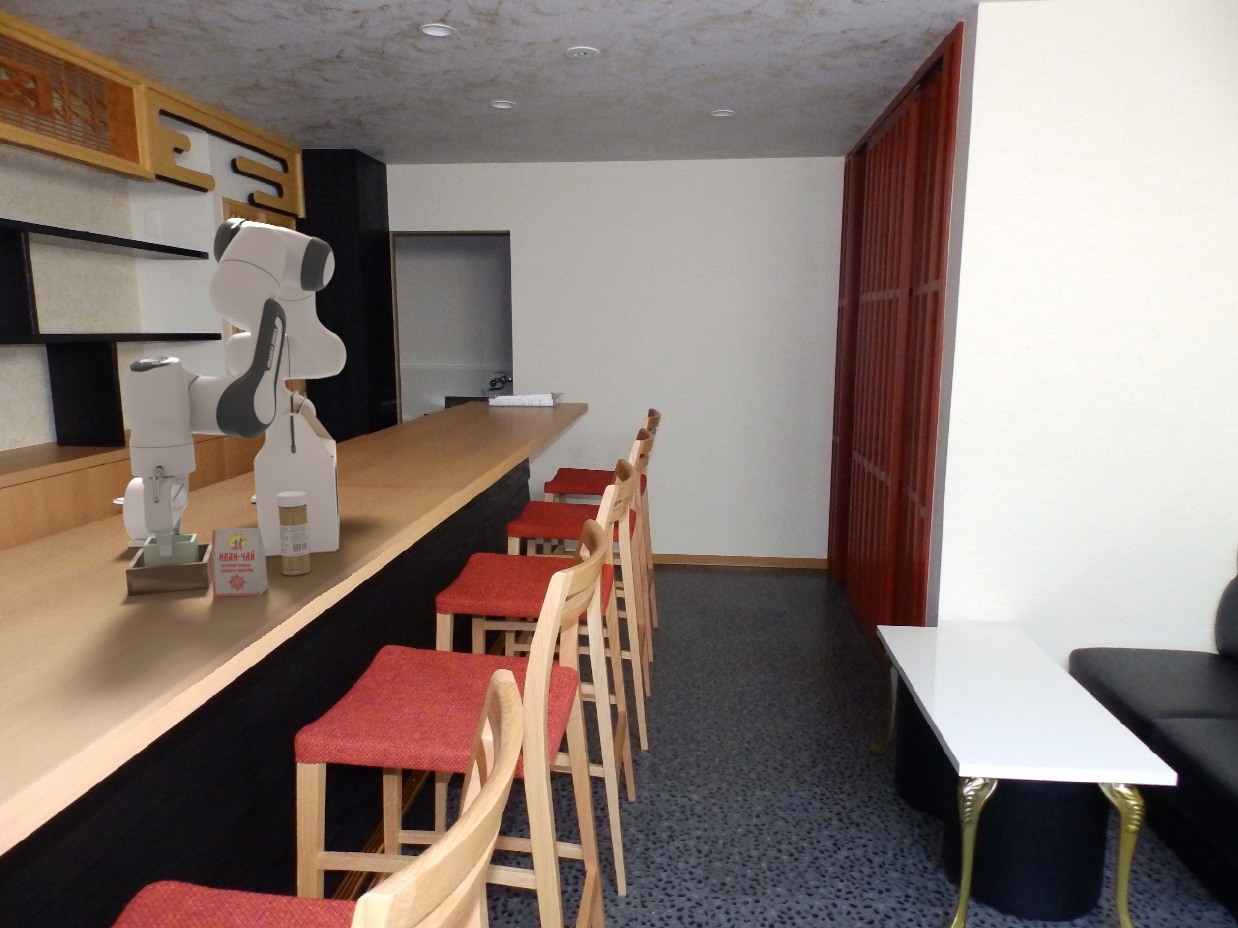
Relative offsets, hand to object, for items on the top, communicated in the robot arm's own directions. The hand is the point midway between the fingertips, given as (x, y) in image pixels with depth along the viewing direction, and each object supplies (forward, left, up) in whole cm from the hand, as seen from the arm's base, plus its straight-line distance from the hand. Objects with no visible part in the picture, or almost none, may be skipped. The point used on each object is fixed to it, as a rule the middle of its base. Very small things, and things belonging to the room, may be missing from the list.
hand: (171, 546), depth 134 cm
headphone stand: (-26, -8, -6) cm, 28 cm away
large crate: (0, 0, -5) cm, 5 cm away
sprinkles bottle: (+3, +18, -6) cm, 20 cm away
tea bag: (+11, +10, -6) cm, 16 cm away
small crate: (0, 0, -5) cm, 5 cm away
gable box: (-20, +20, -6) cm, 29 cm away
